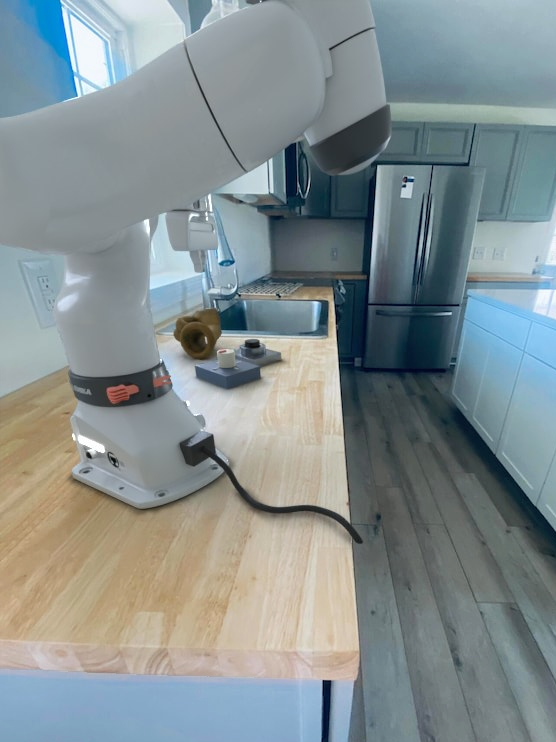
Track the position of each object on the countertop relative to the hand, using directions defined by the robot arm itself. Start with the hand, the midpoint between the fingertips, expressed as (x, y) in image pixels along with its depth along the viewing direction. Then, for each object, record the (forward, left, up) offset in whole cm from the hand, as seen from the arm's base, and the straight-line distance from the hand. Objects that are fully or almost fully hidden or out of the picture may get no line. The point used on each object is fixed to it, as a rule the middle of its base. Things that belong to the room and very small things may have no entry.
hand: (200, 272), depth 86 cm
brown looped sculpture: (+17, -8, -23) cm, 30 cm away
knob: (-11, +3, -20) cm, 23 cm away
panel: (-11, +3, -23) cm, 25 cm away
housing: (-4, -11, -23) cm, 26 cm away
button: (-4, -11, -19) cm, 22 cm away
